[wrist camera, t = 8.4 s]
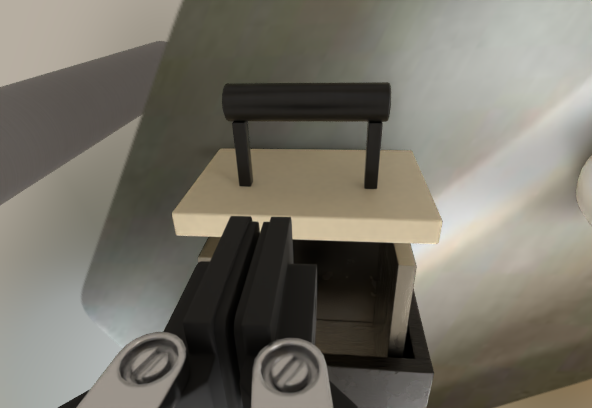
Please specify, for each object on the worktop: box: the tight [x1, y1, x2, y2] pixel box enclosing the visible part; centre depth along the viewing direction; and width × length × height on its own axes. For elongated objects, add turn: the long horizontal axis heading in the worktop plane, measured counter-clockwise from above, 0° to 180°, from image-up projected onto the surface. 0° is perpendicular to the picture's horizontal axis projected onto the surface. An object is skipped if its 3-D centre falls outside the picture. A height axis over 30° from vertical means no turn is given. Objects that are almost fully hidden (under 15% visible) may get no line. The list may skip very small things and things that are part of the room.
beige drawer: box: [172, 82, 442, 358], centre depth 22 cm, size 18×11×8 cm, turn 2°
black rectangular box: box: [322, 289, 434, 408], centre depth 27 cm, size 15×13×10 cm
